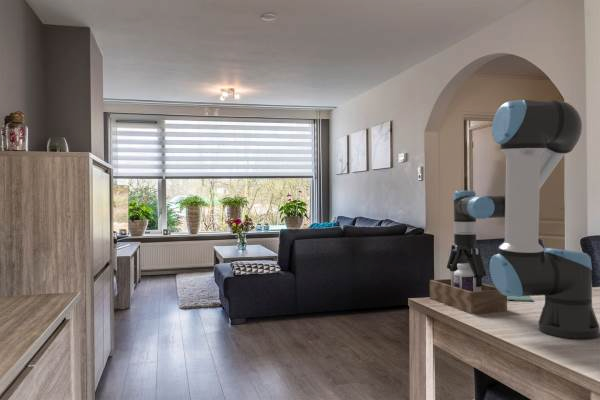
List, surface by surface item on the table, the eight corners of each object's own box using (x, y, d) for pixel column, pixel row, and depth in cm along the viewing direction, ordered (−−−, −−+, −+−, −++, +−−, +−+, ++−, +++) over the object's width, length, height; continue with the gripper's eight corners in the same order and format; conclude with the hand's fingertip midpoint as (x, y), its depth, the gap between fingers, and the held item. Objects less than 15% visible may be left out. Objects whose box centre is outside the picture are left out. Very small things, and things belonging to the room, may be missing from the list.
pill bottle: (481, 303, 173) (481, 263, 173) (472, 307, 167) (471, 266, 167) (460, 300, 179) (459, 262, 179) (450, 304, 173) (449, 264, 173)
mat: (533, 301, 176) (533, 299, 176) (492, 300, 179) (492, 298, 179) (525, 294, 189) (525, 292, 189) (487, 293, 193) (487, 291, 193)
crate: (507, 310, 162) (506, 289, 162) (471, 313, 159) (470, 292, 159) (461, 296, 188) (461, 278, 188) (429, 298, 184) (429, 280, 184)
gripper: (496, 235, 162) (497, 298, 162) (454, 230, 186) (455, 285, 186) (477, 236, 160) (478, 300, 160) (437, 231, 184) (437, 286, 184)
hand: (465, 292), depth 173 cm, fingers open, 13 cm apart
